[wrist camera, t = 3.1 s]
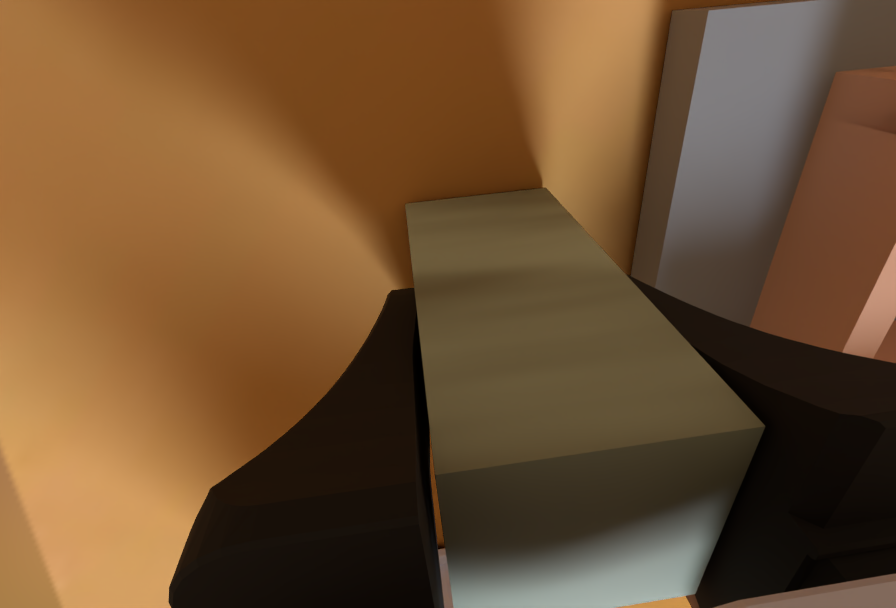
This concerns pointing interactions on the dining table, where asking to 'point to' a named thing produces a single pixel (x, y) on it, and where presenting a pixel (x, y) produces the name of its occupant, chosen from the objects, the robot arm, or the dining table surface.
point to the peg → (564, 414)
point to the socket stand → (778, 171)
